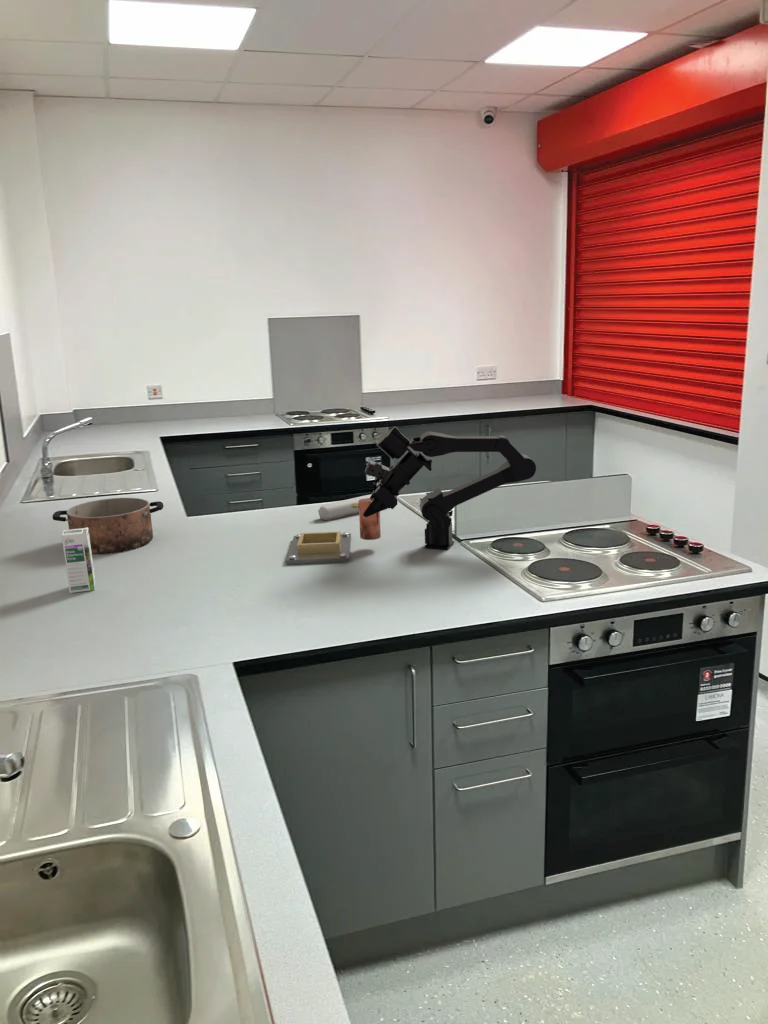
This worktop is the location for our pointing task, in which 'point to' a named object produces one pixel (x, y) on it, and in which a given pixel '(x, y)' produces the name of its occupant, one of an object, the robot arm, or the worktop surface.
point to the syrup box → (78, 560)
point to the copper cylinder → (368, 521)
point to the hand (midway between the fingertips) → (364, 513)
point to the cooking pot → (113, 523)
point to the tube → (340, 508)
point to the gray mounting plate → (319, 548)
